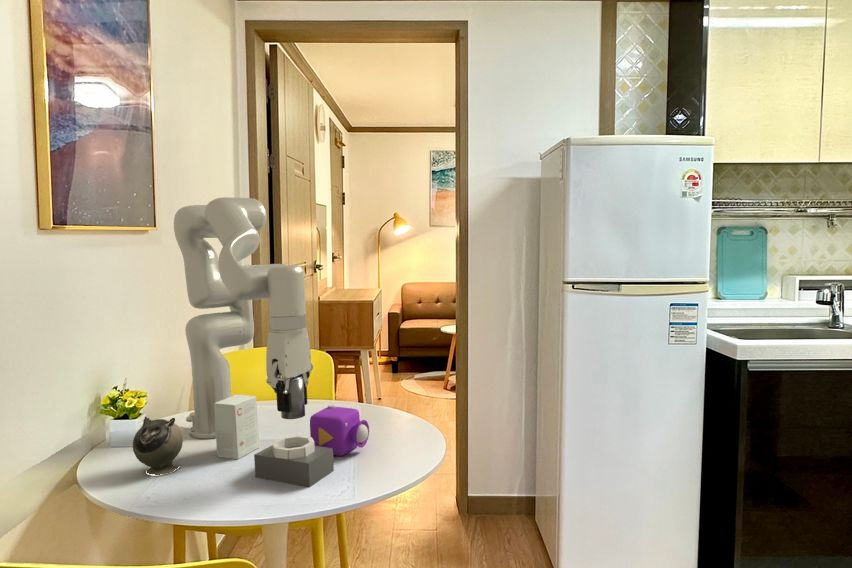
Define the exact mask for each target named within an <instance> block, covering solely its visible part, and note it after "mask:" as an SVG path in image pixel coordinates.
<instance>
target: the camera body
mask: <svg viewBox="0 0 852 568" xmlns="http://www.w3.org/2000/svg"><path fill="white" fill-rule="evenodd" d="M253 458H254V477H255V478H257V479H262V480H269V481H274V482H278V483H279V482H280V483H286V484H291V485H296V486H303V487H307V488H310V487H312V486H314V485H315V484H316V483H318V482H319V481H321V480H322V479H324V478H325V477H327V476H328V475H329V474H331V473H332V472H334V470H335V469H334V455H333V448H327V447H320V446H315V442H314V440H313V438H312V437H310V436H306V435H291V436H284V437H281V438H279V439H277V440H275V441H273V443H272V445H270V446H268V447H266V448H264V449H262V450H260V451H258V452H256V453H255V454H254V455H253Z"/></svg>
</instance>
